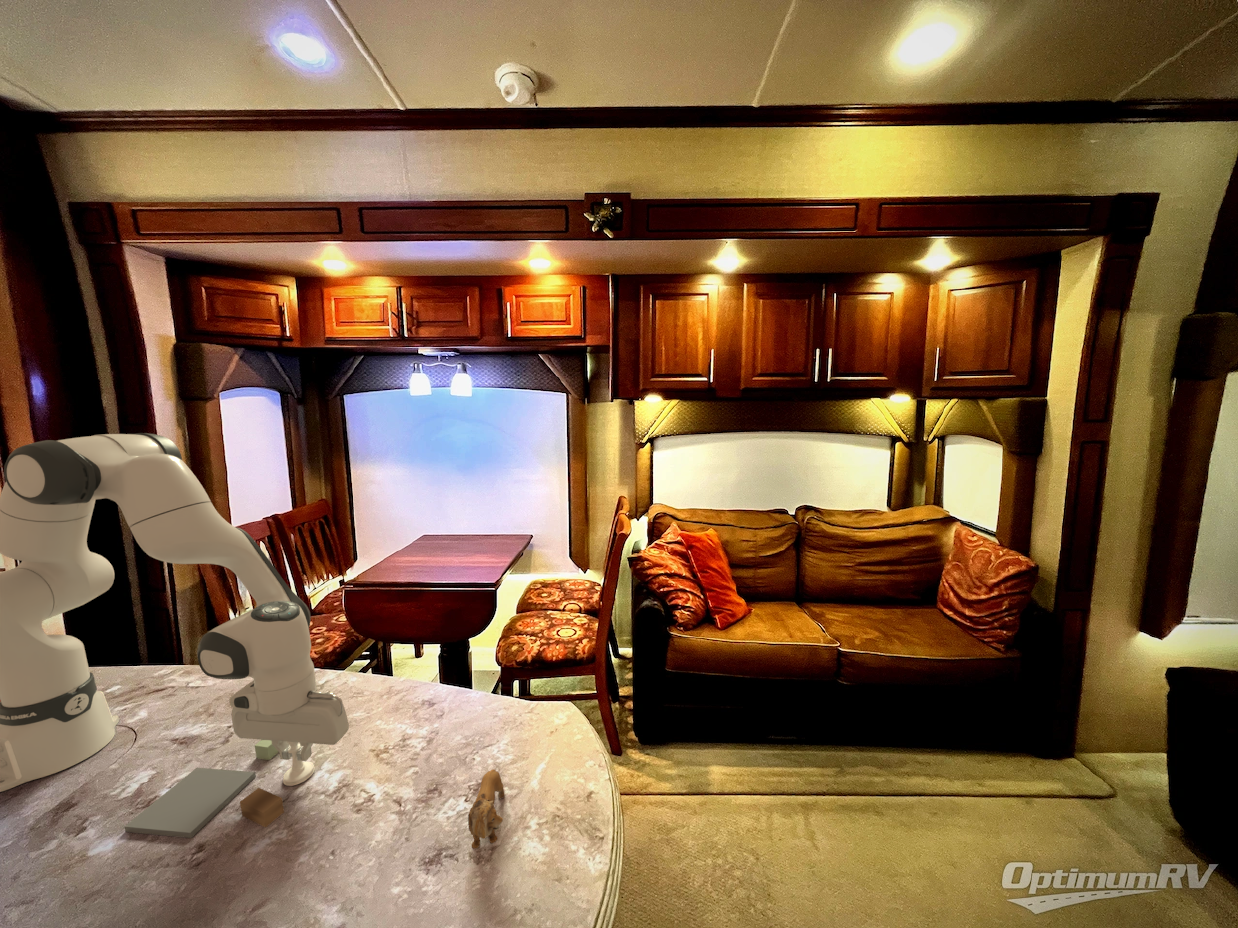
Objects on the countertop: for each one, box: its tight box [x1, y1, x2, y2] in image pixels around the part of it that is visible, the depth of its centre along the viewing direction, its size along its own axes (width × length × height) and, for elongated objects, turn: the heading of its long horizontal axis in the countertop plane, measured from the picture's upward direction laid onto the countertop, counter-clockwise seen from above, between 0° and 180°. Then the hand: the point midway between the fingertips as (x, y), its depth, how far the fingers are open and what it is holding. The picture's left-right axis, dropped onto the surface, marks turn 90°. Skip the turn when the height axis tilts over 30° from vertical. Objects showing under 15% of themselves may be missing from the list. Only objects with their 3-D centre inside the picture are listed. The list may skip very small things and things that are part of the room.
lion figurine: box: [467, 768, 506, 850], centre depth 76 cm, size 15×5×9 cm, turn 13°
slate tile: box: [124, 767, 257, 839], centre depth 81 cm, size 12×12×1 cm
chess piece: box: [282, 742, 316, 787], centre depth 86 cm, size 5×5×10 cm
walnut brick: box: [239, 787, 285, 828], centre depth 79 cm, size 6×3×3 cm, turn 69°
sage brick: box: [254, 740, 279, 761], centre depth 94 cm, size 6×3×3 cm, turn 169°
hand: (296, 757), depth 86 cm, fingers closed on chess piece
